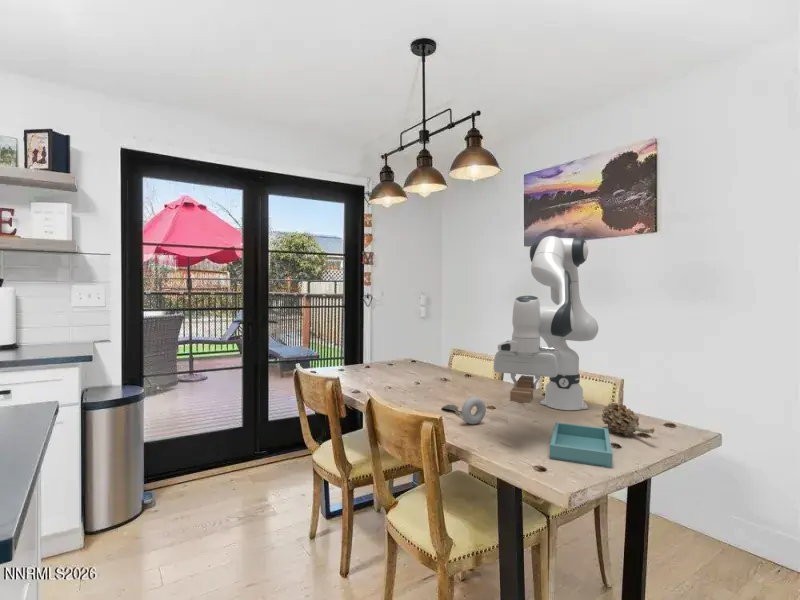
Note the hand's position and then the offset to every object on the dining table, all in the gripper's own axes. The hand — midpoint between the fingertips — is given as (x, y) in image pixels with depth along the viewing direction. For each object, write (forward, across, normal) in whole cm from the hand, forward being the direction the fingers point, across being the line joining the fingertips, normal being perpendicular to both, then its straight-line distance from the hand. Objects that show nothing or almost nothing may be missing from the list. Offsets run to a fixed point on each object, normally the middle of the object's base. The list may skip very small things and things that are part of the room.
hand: (524, 388), depth 147 cm
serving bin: (+17, -17, +2) cm, 24 cm away
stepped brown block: (+2, 0, +2) cm, 3 cm away
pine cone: (+17, -32, -18) cm, 41 cm away
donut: (+17, +19, -9) cm, 27 cm away
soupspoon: (+18, +28, -18) cm, 38 cm away
